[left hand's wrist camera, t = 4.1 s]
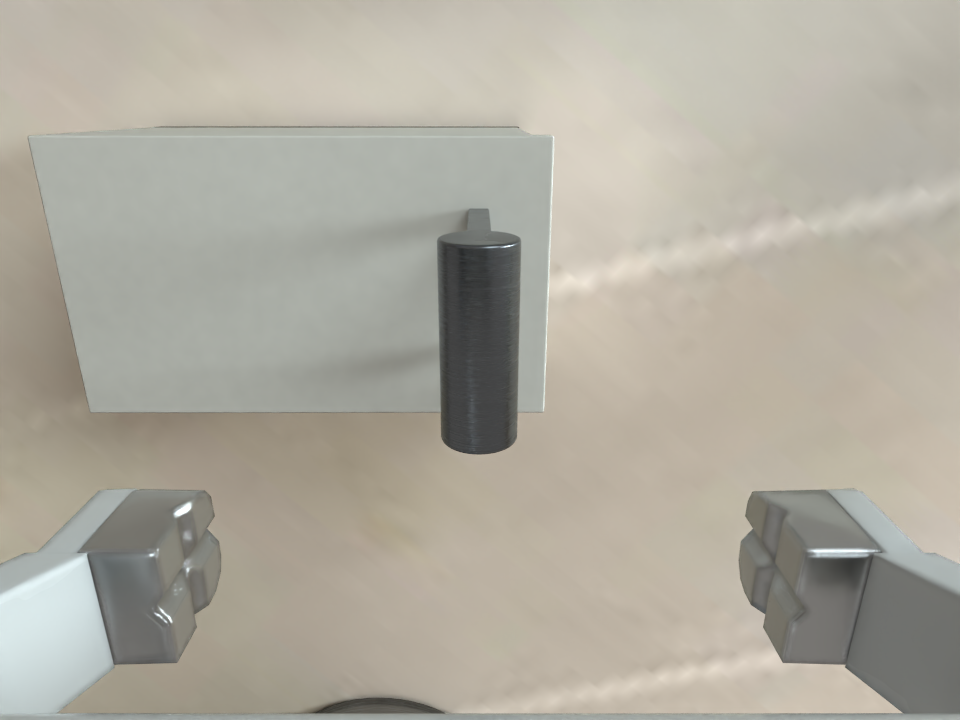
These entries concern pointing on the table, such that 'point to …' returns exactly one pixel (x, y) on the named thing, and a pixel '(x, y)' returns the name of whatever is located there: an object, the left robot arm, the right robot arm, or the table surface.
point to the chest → (310, 131)
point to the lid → (307, 273)
